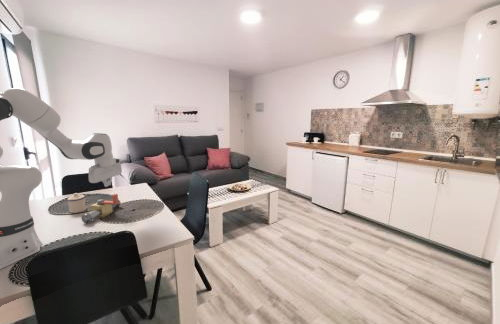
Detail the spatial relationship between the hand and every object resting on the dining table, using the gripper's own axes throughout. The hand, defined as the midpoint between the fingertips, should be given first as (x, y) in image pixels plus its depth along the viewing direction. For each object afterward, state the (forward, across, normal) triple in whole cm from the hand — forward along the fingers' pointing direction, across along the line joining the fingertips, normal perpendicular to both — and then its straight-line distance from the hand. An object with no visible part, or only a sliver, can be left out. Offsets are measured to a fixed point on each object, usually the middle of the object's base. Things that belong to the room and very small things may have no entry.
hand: (107, 185), depth 124 cm
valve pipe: (+21, +5, +10) cm, 24 cm away
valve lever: (+13, +5, +6) cm, 15 cm away
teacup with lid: (+21, +8, +32) cm, 40 cm away
